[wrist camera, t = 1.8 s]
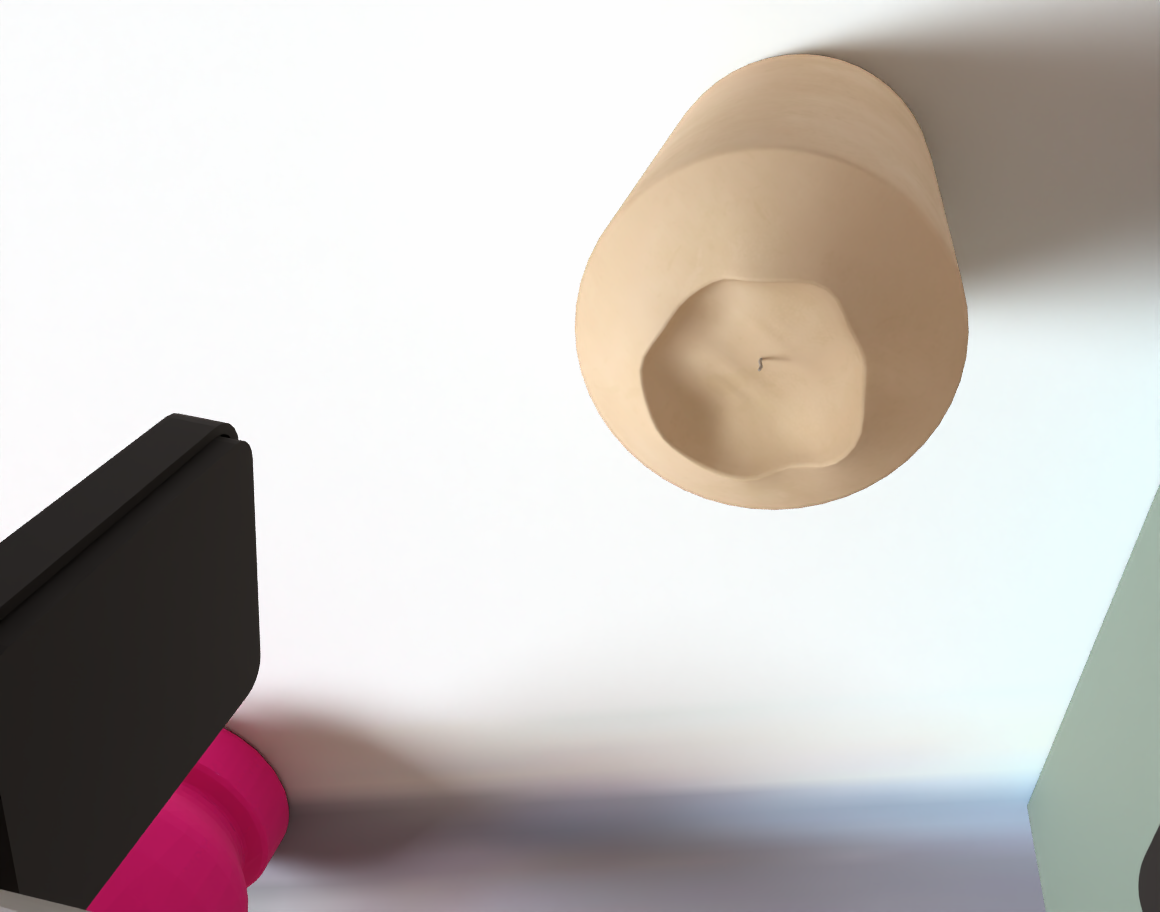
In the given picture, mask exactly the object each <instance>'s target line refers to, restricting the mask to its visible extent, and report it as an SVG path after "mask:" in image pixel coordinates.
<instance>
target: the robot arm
mask: <svg viewBox="0 0 1160 912" xmlns="http://www.w3.org/2000/svg"><path fill="white" fill-rule="evenodd" d="M259 666H260V632H259V607H258V581H257V556H256V531H255V506H254V480H253V457H252V450H251V448H250V446H249V444H248V443H247V442H246V441H241V440H238V435H237V433H236V431H235V428H234V427H233V426H232V425H230V424H229V423H224V422H219V421H214V420H209V419H204V418H199V417H194V416H189V415H183V414H176V413H173V414H171V415H169V416H167V417H165V418H164V419H163V420H161V421H160V422H159V423H157V424H156V425H155V426H153V427H152V428H151V429H150V430H148V431H147V432H146V433H144V434H143V435H142V436H140V437H139V438H138V439H136V440H135V441H134V442H132V443H131V444H130V445H128V446H127V447H126V448H124V449H123V450H122V451H120V452H119V453H118V454H117V455H115V456H114V457H113V458H111V459H110V460H109V461H107V462H106V463H105V464H103V465H102V466H101V467H99V468H98V469H97V470H95V471H94V472H93V473H91V474H90V475H89V476H88V477H86V478H85V479H84V480H82V481H81V482H80V483H78V484H77V485H76V486H74V487H73V488H72V489H70V490H69V491H68V492H66V493H65V494H64V495H62V496H61V497H60V498H59V499H57V500H56V501H55V502H53V503H52V504H51V505H49V506H48V507H47V508H45V509H44V510H43V511H41V512H40V513H39V514H37V515H36V516H35V517H33V518H32V519H31V520H30V521H28V522H27V523H26V524H24V525H23V526H22V527H20V528H19V529H18V530H16V531H15V532H14V533H12V534H11V535H10V536H8V537H7V538H6V539H4V540H3V541H2V542H1V543H0V912H91V911H87V910H86V909H87V908H88V906H89V905H90V904H91V902H92V901H93V900H94V898H95V897H96V896H97V894H98V893H99V892H100V890H101V889H102V888H103V886H104V885H105V884H106V883H107V881H108V880H109V879H110V877H111V876H112V875H113V873H114V872H115V871H116V869H117V868H118V867H119V865H120V864H121V863H122V861H123V860H124V859H125V857H126V856H127V855H128V853H129V852H130V851H131V849H132V848H133V847H134V845H135V844H136V843H137V841H138V840H139V839H140V837H141V836H142V835H143V833H144V832H145V831H146V829H147V828H148V827H149V826H150V824H151V823H152V822H153V820H154V819H155V818H156V816H157V815H158V814H159V812H160V811H161V810H162V808H163V807H164V806H165V804H166V803H167V802H168V800H169V799H170V798H171V796H172V795H173V794H174V792H175V791H176V790H177V788H178V787H179V786H180V784H181V783H182V782H183V780H184V779H185V778H186V776H187V775H188V774H189V772H190V771H191V770H192V769H193V767H194V766H195V765H196V763H197V762H198V761H199V759H200V758H201V757H202V755H203V754H204V753H205V751H206V750H207V749H208V747H209V746H210V745H211V743H212V742H213V741H214V739H215V738H216V737H217V735H218V734H219V733H220V731H221V730H222V729H223V727H224V726H225V725H226V723H227V722H228V721H229V719H230V718H231V717H232V716H233V714H234V713H235V712H236V710H237V709H238V708H239V706H240V705H241V704H242V702H243V701H244V700H245V698H246V697H247V696H248V694H249V693H250V691H251V689H252V687H253V685H254V683H255V681H256V678H257V674H258V671H259ZM1138 891H1139V900H1140V905H1141V908H1142V912H1160V825H1159V827H1158V829H1157V831H1156V833H1155V835H1154V837H1153V839H1152V841H1151V844H1150V846H1149V848H1148V850H1147V852H1146V854H1145V856H1144V858H1143V861H1142V864H1141V868H1140V873H1139V882H1138Z"/></svg>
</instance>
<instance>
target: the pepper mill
mask: <svg viewBox="0 0 1160 912" xmlns="http://www.w3.org/2000/svg"><path fill="white" fill-rule="evenodd" d="M288 822H289V806H288V802H287V797H286V793H285V790H284V788H283V786H282V784H281V782H280V780H279V779H278V777H277V775H276V773H275V771H274V770H273V769H272V767H271V766H270V765H269V764H268V763H267V762H266V761H265V759H264V758H263V757H262V756H261V755H260V754H259V753H258V751H257V750H255V749H254V748H253V747H251V746H250V745H249V744H248V743H246V742H245V741H244V740H242V739H241V738H240V737H238V736H237V735H235V734H233V733H232V732H230V731H228V730H226V729H224V728H223V729H222V730H221V731H220V733H219V734H218V735H217V737H216V738H215V739H214V741H213V742H212V743H211V745H210V746H209V747H208V749H207V750H206V751H205V753H204V754H203V755H202V757H201V758H200V759H199V761H198V762H197V763H196V765H195V766H194V767H193V769H192V770H191V771H190V772H189V774H188V775H187V776H186V778H185V779H184V780H183V782H182V783H181V784H180V786H179V787H178V788H177V790H176V791H175V792H174V794H173V795H172V796H171V798H170V799H169V800H168V802H167V803H166V804H165V806H164V807H163V808H162V810H161V811H160V812H159V814H158V815H157V816H156V818H155V819H154V820H153V822H152V823H151V824H150V826H149V827H148V828H147V829H146V831H145V832H144V833H143V835H142V836H141V837H140V839H139V840H138V841H137V843H136V844H135V845H134V847H133V848H132V849H131V851H130V852H129V853H128V855H127V856H126V857H125V859H124V860H123V861H122V863H121V864H120V865H119V867H118V868H117V869H116V871H115V872H114V873H113V875H112V876H111V877H110V879H109V880H108V881H107V883H106V884H105V885H104V886H103V888H102V889H101V890H100V892H99V893H98V894H97V896H96V897H95V898H94V900H93V901H92V902H91V904H90V905H89V906H88V908H87V909H86V910H87V911H91V912H248V895H247V887H249V886H250V885H251V884H252V883H254V882H255V881H256V880H257V879H258V878H259V877H260V876H261V874H262V873H263V871H264V870H265V868H266V866H267V865H268V863H269V861H270V859H271V858H272V856H273V854H274V853H275V851H276V849H277V847H278V846H279V844H280V842H281V841H282V839H283V837H284V835H285V833H286V831H287V826H288Z"/></svg>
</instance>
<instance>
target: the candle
mask: <svg viewBox="0 0 1160 912" xmlns="http://www.w3.org/2000/svg"><path fill="white" fill-rule="evenodd" d="M968 333H969V331H968V312H967V304H966V299H965V294H964V289H963V284H962V279H961V275H960V271H959V267H958V263H957V259H956V255H955V251H954V247H953V243H952V239H951V235H950V231H949V227H948V223H947V219H946V215H945V211H944V206H943V202H942V198H941V194H940V190H939V186H938V182H937V178H936V174H935V170H934V166H933V162H932V158H931V155H930V152H929V149H928V147H927V144H926V141H925V138H924V136H923V133H922V130H921V128H920V126H919V125H918V123H917V121H916V119H915V117H914V115H913V114H912V112H911V111H910V110H909V108H908V107H907V106H906V104H905V103H904V101H903V100H902V99H901V98H900V97H899V96H898V95H897V94H896V93H895V92H894V91H893V90H892V89H891V88H890V87H889V86H888V85H886V84H885V83H884V82H882V81H881V80H880V79H879V78H877V77H876V76H874V75H873V74H871V73H869V72H867V71H866V70H864V69H862V68H860V67H858V66H856V65H853V64H850V63H848V62H845V61H843V60H839V59H835V58H831V57H826V56H820V55H809V54H795V55H782V56H777V57H771V58H766V59H763V60H760V61H757V62H754V63H751V64H748V65H746V66H744V67H742V68H740V69H738V70H736V71H733V72H732V73H730V74H729V75H727V76H725V77H724V78H722V79H721V80H719V81H718V82H716V83H715V84H714V85H713V86H712V87H710V88H709V89H708V90H707V91H706V92H705V93H703V94H702V95H701V96H700V98H699V99H698V100H697V101H696V102H695V103H694V104H693V105H692V106H691V107H690V109H689V110H688V111H687V112H686V113H685V115H684V116H683V118H682V119H681V120H680V122H679V123H678V125H677V126H676V128H675V129H674V130H673V132H672V133H671V135H670V136H669V138H668V139H667V141H666V142H665V143H664V145H663V146H662V148H661V149H660V151H659V152H658V154H657V155H656V157H655V158H654V159H653V161H652V162H651V164H650V165H649V167H648V168H647V170H646V171H645V172H644V174H643V175H642V177H641V178H640V180H639V181H638V183H637V184H636V186H635V187H634V188H633V190H632V191H631V193H630V194H629V196H628V197H627V199H626V200H625V201H624V203H623V204H622V206H621V207H620V209H619V210H618V212H617V213H616V214H615V216H614V217H613V219H612V220H611V222H610V223H609V225H608V226H607V228H606V229H605V230H604V232H603V233H602V235H601V236H600V238H599V240H598V242H597V244H596V246H595V248H594V250H593V252H592V254H591V256H590V258H589V260H588V263H587V265H586V268H585V271H584V274H583V277H582V280H581V283H580V288H579V293H578V299H577V304H576V318H575V335H576V348H577V354H578V359H579V364H580V368H581V373H582V376H583V378H584V381H585V384H586V387H587V390H588V392H589V395H590V397H591V399H592V401H593V403H594V405H595V407H596V409H597V411H598V412H599V414H600V416H601V417H602V419H603V420H604V422H605V423H606V425H607V426H608V428H609V429H610V431H611V432H612V433H613V435H614V436H615V437H616V438H617V439H618V440H619V441H620V443H621V444H622V445H623V446H624V447H625V448H626V449H627V450H628V451H629V452H630V453H631V454H632V455H633V456H634V457H635V458H637V459H638V460H639V461H640V462H641V463H642V464H643V465H644V466H646V467H647V468H649V469H650V470H651V471H653V472H654V473H656V474H657V475H659V476H660V477H661V478H663V479H665V480H666V481H668V482H670V483H672V484H674V485H676V486H678V487H679V488H681V489H683V490H685V491H688V492H690V493H693V494H695V495H698V496H700V497H703V498H705V499H709V500H712V501H716V502H720V503H723V504H727V505H732V506H738V507H745V508H751V509H771V510H778V509H794V508H803V507H808V506H814V505H819V504H824V503H827V502H830V501H834V500H837V499H840V498H844V497H847V496H849V495H851V494H853V493H856V492H858V491H860V490H863V489H865V488H867V487H869V486H871V485H872V484H874V483H876V482H877V481H879V480H881V479H883V478H884V477H886V476H888V475H889V474H890V473H892V472H893V471H894V470H896V469H897V468H898V467H900V466H901V465H902V464H903V463H905V462H906V461H907V460H908V459H909V458H910V457H911V456H912V455H913V454H914V453H915V452H916V451H917V450H918V449H919V448H920V447H921V446H922V445H923V444H924V443H925V442H926V441H927V440H928V438H929V437H930V436H931V434H932V433H933V432H934V431H935V429H936V428H937V427H938V425H939V424H940V422H941V420H942V419H943V417H944V415H945V414H946V412H947V410H948V408H949V407H950V405H951V403H952V400H953V398H954V396H955V393H956V391H957V388H958V386H959V383H960V381H961V376H962V372H963V368H964V364H965V360H966V354H967V344H968Z"/></svg>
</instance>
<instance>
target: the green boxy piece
mask: <svg viewBox="0 0 1160 912" xmlns="http://www.w3.org/2000/svg"><path fill="white" fill-rule="evenodd" d="M1027 809H1028V814H1029V820H1030V825H1031V831H1032V837H1033V842H1034V848H1035V853H1036V859H1037V865H1038V870H1039V876H1040V881H1041V887H1042V893H1043V898H1044V904H1045V909H1046V912H1142V908H1141V905H1140V900H1139V891H1138V882H1139V873H1140V868H1141V864H1142V861H1143V858H1144V856H1145V854H1146V852H1147V850H1148V848H1149V846H1150V844H1151V841H1152V839H1153V837H1154V835H1155V833H1156V831H1157V829H1158V827H1159V825H1160V486H1159V488H1158V490H1157V493H1156V495H1155V498H1154V500H1153V503H1152V505H1151V507H1150V510H1149V512H1148V515H1147V517H1146V520H1145V522H1144V524H1143V527H1142V529H1141V532H1140V534H1139V536H1138V539H1137V541H1136V544H1135V546H1134V549H1133V551H1132V553H1131V556H1130V558H1129V561H1128V563H1127V566H1126V568H1125V570H1124V573H1123V575H1122V578H1121V580H1120V583H1119V585H1118V587H1117V590H1116V592H1115V595H1114V597H1113V599H1112V602H1111V604H1110V607H1109V609H1108V612H1107V614H1106V616H1105V619H1104V621H1103V624H1102V626H1101V629H1100V631H1099V633H1098V636H1097V638H1096V641H1095V643H1094V645H1093V648H1092V650H1091V653H1090V655H1089V658H1088V660H1087V662H1086V665H1085V667H1084V670H1083V672H1082V675H1081V677H1080V679H1079V682H1078V684H1077V687H1076V689H1075V692H1074V694H1073V696H1072V699H1071V701H1070V704H1069V706H1068V708H1067V711H1066V713H1065V716H1064V718H1063V721H1062V723H1061V725H1060V728H1059V730H1058V733H1057V735H1056V738H1055V740H1054V742H1053V745H1052V747H1051V750H1050V752H1049V755H1048V757H1047V759H1046V762H1045V764H1044V767H1043V769H1042V771H1041V774H1040V776H1039V779H1038V781H1037V784H1036V786H1035V788H1034V791H1033V793H1032V796H1031V798H1030V801H1029V803H1028V805H1027Z"/></svg>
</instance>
